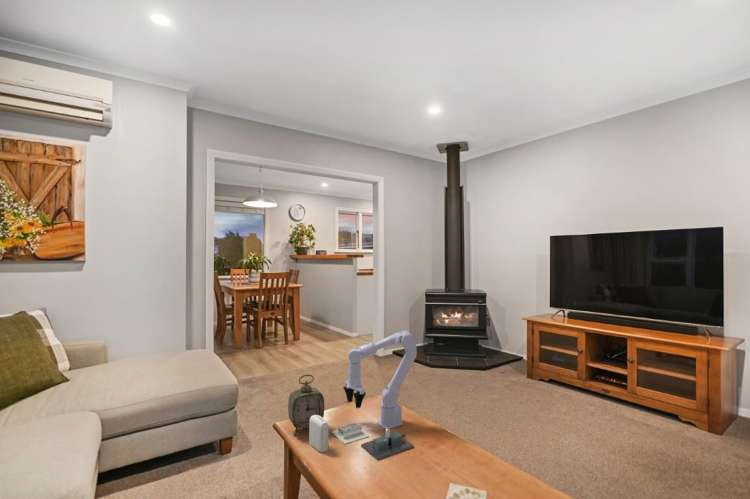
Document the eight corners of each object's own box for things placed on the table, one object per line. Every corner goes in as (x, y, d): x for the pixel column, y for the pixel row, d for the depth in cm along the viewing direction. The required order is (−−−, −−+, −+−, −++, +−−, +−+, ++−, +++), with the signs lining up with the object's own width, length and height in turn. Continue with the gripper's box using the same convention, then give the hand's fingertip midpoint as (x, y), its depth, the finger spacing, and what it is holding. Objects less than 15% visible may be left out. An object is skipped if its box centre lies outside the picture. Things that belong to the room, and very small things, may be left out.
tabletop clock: (291, 438, 161) (292, 380, 161) (286, 429, 169) (287, 373, 169) (324, 431, 168) (324, 375, 168) (317, 422, 176) (318, 369, 176)
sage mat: (354, 425, 173) (354, 425, 173) (368, 436, 163) (368, 436, 163) (331, 432, 167) (331, 431, 167) (344, 444, 157) (344, 443, 157)
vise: (396, 435, 165) (396, 418, 165) (413, 447, 155) (413, 429, 155) (361, 446, 155) (361, 428, 155) (377, 460, 145) (377, 440, 145)
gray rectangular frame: (355, 428, 170) (355, 422, 170) (361, 433, 166) (361, 426, 166) (338, 434, 165) (338, 427, 165) (343, 439, 160) (343, 432, 160)
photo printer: (307, 443, 157) (308, 413, 157) (316, 440, 160) (317, 411, 160) (320, 454, 149) (320, 422, 149) (329, 450, 152) (330, 419, 152)
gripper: (339, 372, 178) (339, 401, 178) (355, 381, 166) (354, 412, 166) (352, 369, 182) (351, 398, 182) (368, 378, 170) (368, 408, 170)
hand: (354, 404), depth 174 cm, fingers open, 7 cm apart
